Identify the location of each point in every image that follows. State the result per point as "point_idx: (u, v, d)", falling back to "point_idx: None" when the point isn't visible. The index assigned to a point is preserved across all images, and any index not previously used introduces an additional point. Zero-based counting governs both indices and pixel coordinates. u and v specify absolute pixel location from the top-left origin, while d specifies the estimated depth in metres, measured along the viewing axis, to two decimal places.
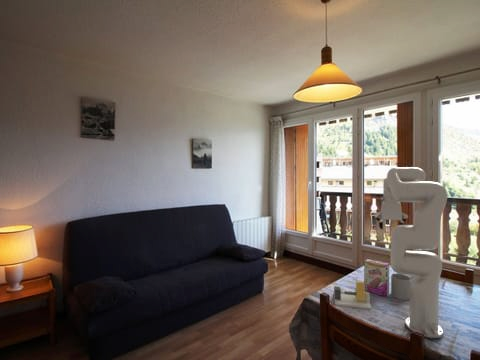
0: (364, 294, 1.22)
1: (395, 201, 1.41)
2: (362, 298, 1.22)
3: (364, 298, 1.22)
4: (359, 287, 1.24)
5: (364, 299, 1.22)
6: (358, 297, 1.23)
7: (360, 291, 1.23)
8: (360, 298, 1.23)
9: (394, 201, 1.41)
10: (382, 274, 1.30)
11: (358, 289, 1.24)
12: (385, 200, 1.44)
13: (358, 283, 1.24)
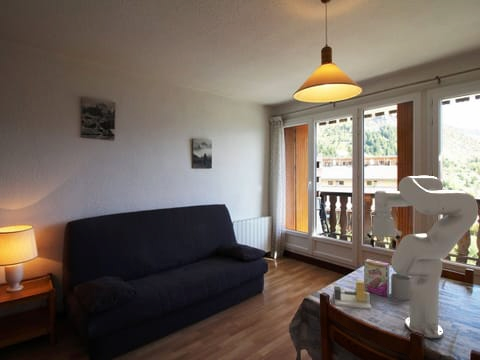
0: (364, 294, 1.22)
1: (387, 216, 1.29)
2: (362, 298, 1.22)
3: (364, 298, 1.22)
4: (359, 287, 1.24)
5: (364, 299, 1.22)
6: (358, 297, 1.23)
7: (360, 291, 1.23)
8: (360, 298, 1.23)
9: (386, 216, 1.29)
10: (382, 274, 1.30)
11: (358, 289, 1.24)
12: (376, 215, 1.32)
13: (358, 283, 1.24)
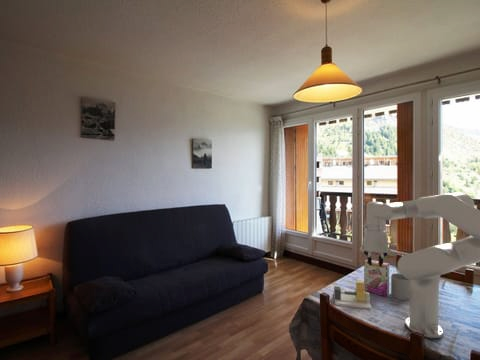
0: (364, 294, 1.22)
1: (380, 230, 1.18)
2: (362, 298, 1.22)
3: (364, 298, 1.22)
4: (359, 287, 1.24)
5: (364, 299, 1.22)
6: (358, 297, 1.23)
7: (360, 291, 1.23)
8: (360, 298, 1.23)
9: (378, 230, 1.18)
10: (382, 274, 1.30)
11: (358, 289, 1.24)
12: (368, 228, 1.21)
13: (358, 283, 1.24)
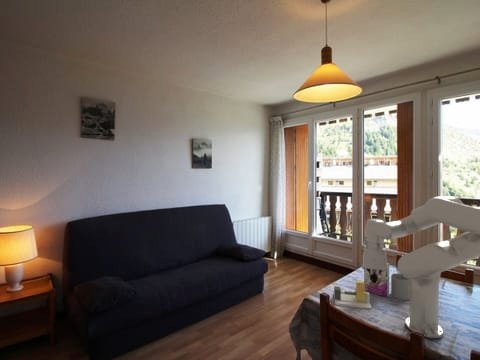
0: (364, 294, 1.22)
1: (379, 248, 1.19)
2: (362, 298, 1.22)
3: (364, 298, 1.22)
4: (359, 287, 1.24)
5: (364, 299, 1.22)
6: (358, 297, 1.23)
7: (360, 291, 1.23)
8: (360, 298, 1.23)
9: (378, 248, 1.18)
10: (382, 274, 1.30)
11: (358, 289, 1.24)
12: (368, 246, 1.21)
13: (358, 283, 1.24)
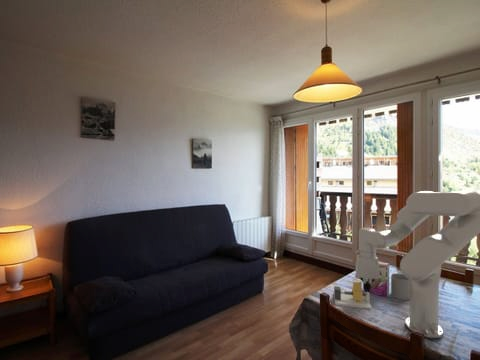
0: (361, 294, 1.22)
1: (371, 257, 1.19)
2: (359, 298, 1.23)
3: (361, 298, 1.23)
4: (356, 287, 1.24)
5: (361, 299, 1.23)
6: (355, 297, 1.23)
7: (357, 291, 1.23)
8: (357, 298, 1.23)
9: (370, 257, 1.19)
10: (382, 274, 1.30)
11: (355, 289, 1.24)
12: (360, 255, 1.22)
13: (355, 283, 1.24)
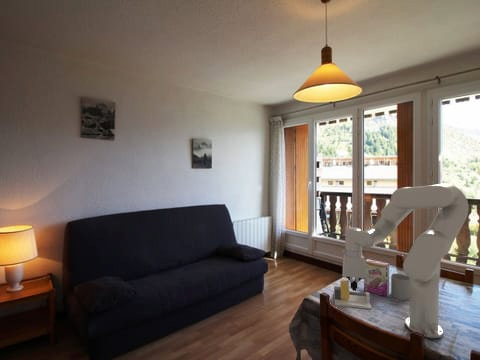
0: (348, 292, 1.24)
1: (357, 256, 1.21)
2: (346, 296, 1.24)
3: (348, 296, 1.24)
4: (343, 285, 1.26)
5: (348, 297, 1.24)
6: (342, 295, 1.25)
7: (344, 289, 1.25)
8: (344, 296, 1.25)
9: (356, 256, 1.21)
10: (383, 274, 1.30)
11: (342, 287, 1.26)
12: (347, 254, 1.24)
13: (342, 281, 1.26)
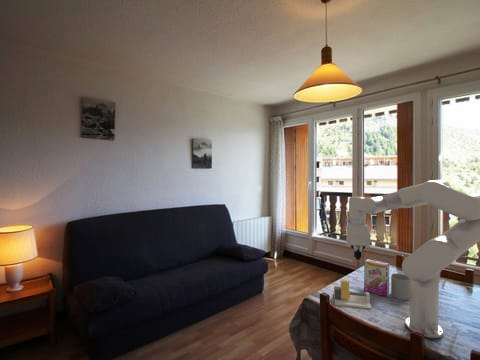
0: (348, 292, 1.24)
1: (361, 224, 1.21)
2: (346, 296, 1.24)
3: (348, 296, 1.24)
4: (344, 285, 1.26)
5: (348, 297, 1.24)
6: (342, 295, 1.25)
7: (344, 289, 1.25)
8: (344, 296, 1.25)
9: (360, 224, 1.21)
10: (383, 274, 1.30)
11: (343, 287, 1.26)
12: (350, 222, 1.23)
13: (343, 281, 1.26)
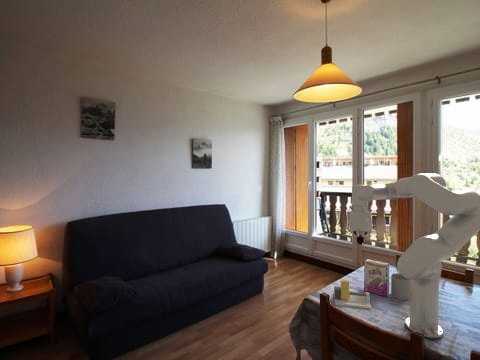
0: (348, 292, 1.24)
1: (364, 210, 1.26)
2: (346, 296, 1.24)
3: (348, 296, 1.24)
4: (344, 285, 1.26)
5: (348, 297, 1.24)
6: (342, 295, 1.25)
7: (344, 289, 1.25)
8: (344, 296, 1.25)
9: (363, 210, 1.26)
10: (383, 274, 1.30)
11: (343, 287, 1.26)
12: (353, 209, 1.29)
13: (343, 281, 1.26)
